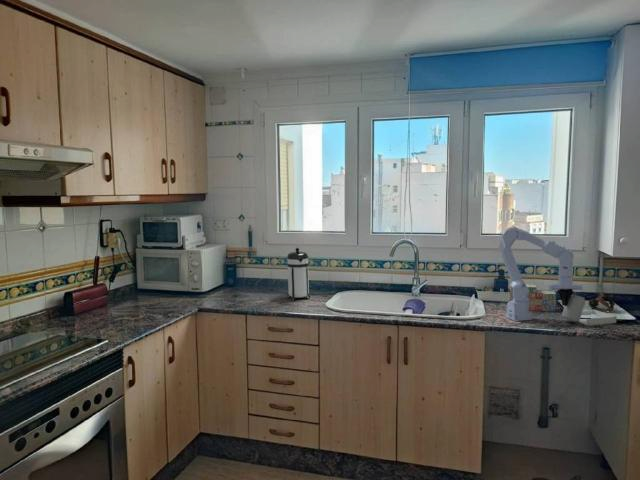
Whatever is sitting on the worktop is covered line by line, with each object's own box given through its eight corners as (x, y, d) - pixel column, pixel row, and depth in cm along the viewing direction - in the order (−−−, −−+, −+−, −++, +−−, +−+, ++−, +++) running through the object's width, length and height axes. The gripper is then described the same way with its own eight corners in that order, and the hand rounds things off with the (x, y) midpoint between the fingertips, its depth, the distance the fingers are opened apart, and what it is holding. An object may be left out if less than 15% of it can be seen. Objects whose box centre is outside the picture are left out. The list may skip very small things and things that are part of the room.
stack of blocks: (554, 309, 241) (555, 285, 240) (555, 312, 235) (556, 288, 234) (509, 306, 249) (510, 283, 247) (509, 309, 243) (510, 285, 242)
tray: (588, 325, 211) (588, 319, 211) (567, 318, 224) (567, 312, 223) (616, 323, 214) (616, 316, 214) (593, 315, 227) (594, 309, 227)
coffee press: (317, 296, 282) (315, 246, 278) (302, 302, 268) (300, 250, 265) (293, 293, 291) (292, 245, 288) (277, 298, 278) (276, 248, 274)
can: (569, 320, 212) (578, 295, 211) (557, 316, 219) (565, 291, 218) (582, 324, 214) (590, 299, 214) (569, 319, 221) (577, 295, 221)
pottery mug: (599, 307, 243) (609, 295, 239) (610, 320, 235) (620, 307, 231) (580, 303, 240) (589, 291, 236) (590, 316, 232) (600, 303, 228)
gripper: (577, 274, 217) (576, 302, 219) (545, 274, 218) (544, 303, 219) (585, 277, 210) (584, 306, 212) (552, 277, 211) (551, 307, 212)
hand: (564, 305), depth 215 cm, fingers closed
